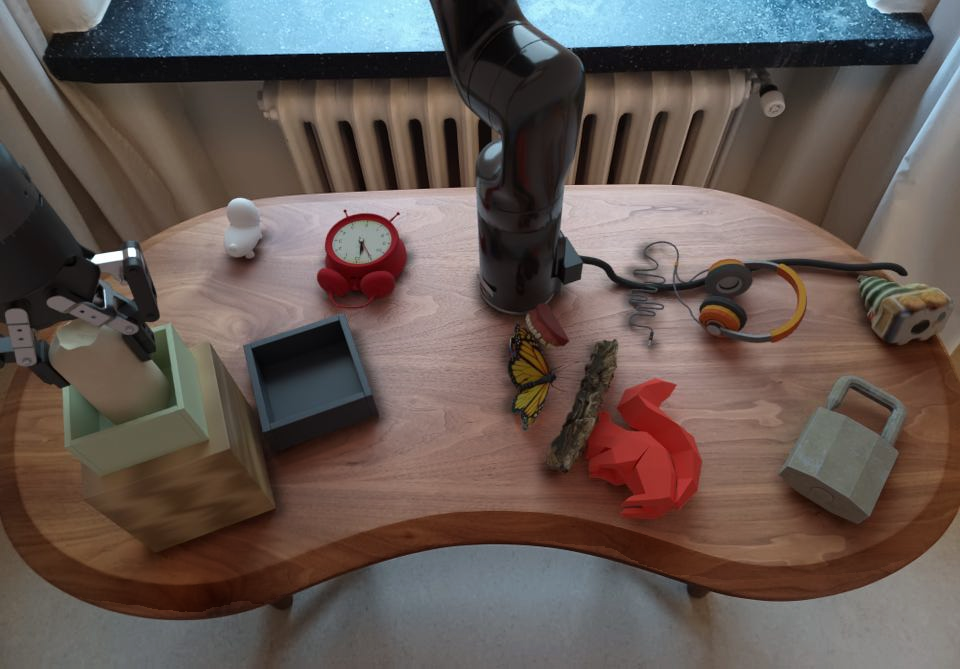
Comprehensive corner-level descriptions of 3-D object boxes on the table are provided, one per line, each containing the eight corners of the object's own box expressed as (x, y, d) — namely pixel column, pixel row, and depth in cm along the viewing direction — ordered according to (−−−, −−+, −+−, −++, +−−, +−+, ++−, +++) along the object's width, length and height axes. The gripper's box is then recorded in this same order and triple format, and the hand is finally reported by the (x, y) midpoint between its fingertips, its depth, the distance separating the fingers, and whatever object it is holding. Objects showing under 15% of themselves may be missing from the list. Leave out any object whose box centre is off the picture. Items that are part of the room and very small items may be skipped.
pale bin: (195, 358, 62) (170, 322, 58) (209, 439, 57) (184, 408, 53) (94, 390, 61) (60, 356, 56) (100, 477, 56) (64, 448, 51)
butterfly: (591, 427, 68) (559, 421, 65) (528, 445, 74) (496, 440, 71) (578, 320, 73) (548, 309, 70) (519, 345, 79) (489, 335, 75)
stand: (254, 411, 75) (209, 340, 63) (276, 508, 68) (230, 448, 57) (143, 449, 73) (76, 382, 61) (155, 552, 66) (82, 500, 55)
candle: (153, 433, 55) (90, 369, 47) (92, 422, 56) (21, 357, 48) (182, 376, 58) (129, 306, 50) (125, 367, 59) (63, 296, 51)
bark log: (592, 349, 79) (590, 310, 74) (633, 359, 77) (634, 319, 72) (539, 481, 69) (531, 446, 64) (584, 495, 67) (580, 460, 62)
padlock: (774, 478, 68) (831, 377, 75) (853, 527, 66) (904, 417, 72) (790, 463, 65) (848, 358, 72) (873, 514, 62) (925, 400, 69)
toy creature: (274, 223, 92) (260, 189, 86) (255, 268, 87) (240, 234, 82) (241, 221, 92) (226, 186, 87) (221, 265, 87) (204, 232, 82)
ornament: (941, 341, 78) (883, 288, 85) (969, 300, 74) (905, 248, 81) (882, 351, 76) (828, 296, 83) (908, 310, 72) (849, 256, 79)
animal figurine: (686, 389, 74) (689, 362, 70) (707, 519, 65) (713, 496, 61) (580, 394, 76) (578, 368, 72) (586, 521, 67) (584, 499, 63)
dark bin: (351, 335, 80) (344, 312, 77) (379, 415, 74) (372, 394, 70) (255, 367, 78) (242, 345, 75) (275, 452, 72) (262, 432, 68)
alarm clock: (410, 206, 87) (388, 276, 76) (414, 246, 92) (393, 318, 81) (332, 203, 88) (298, 272, 77) (339, 243, 92) (308, 314, 81)
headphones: (639, 225, 86) (814, 233, 78) (642, 254, 90) (808, 264, 82) (611, 328, 77) (804, 349, 69) (615, 355, 81) (798, 378, 73)
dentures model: (543, 335, 70) (513, 381, 75) (575, 334, 72) (544, 379, 78) (523, 296, 73) (496, 343, 79) (555, 296, 75) (526, 342, 81)
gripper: (-186, 293, 35) (9, 437, 49) (98, 215, 38) (207, 372, 52) (-165, 200, 39) (10, 357, 53) (90, 136, 42) (193, 301, 56)
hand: (107, 364), depth 52 cm, fingers closed on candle, 5 cm apart
